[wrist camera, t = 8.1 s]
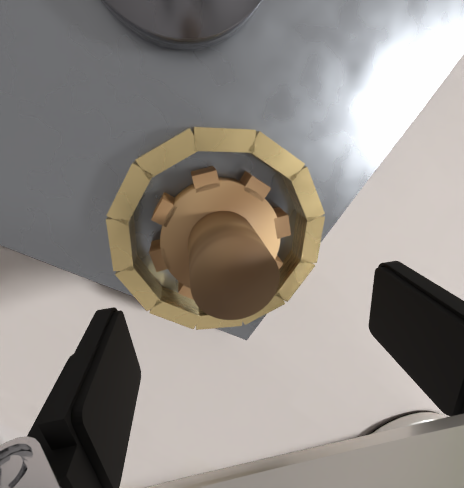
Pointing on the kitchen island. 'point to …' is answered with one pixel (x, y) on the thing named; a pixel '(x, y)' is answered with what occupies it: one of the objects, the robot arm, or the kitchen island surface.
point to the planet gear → (221, 243)
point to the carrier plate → (201, 121)
